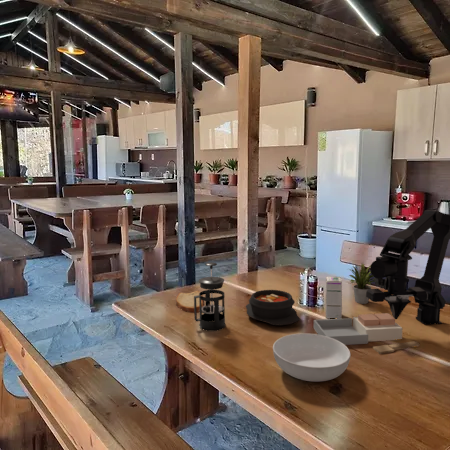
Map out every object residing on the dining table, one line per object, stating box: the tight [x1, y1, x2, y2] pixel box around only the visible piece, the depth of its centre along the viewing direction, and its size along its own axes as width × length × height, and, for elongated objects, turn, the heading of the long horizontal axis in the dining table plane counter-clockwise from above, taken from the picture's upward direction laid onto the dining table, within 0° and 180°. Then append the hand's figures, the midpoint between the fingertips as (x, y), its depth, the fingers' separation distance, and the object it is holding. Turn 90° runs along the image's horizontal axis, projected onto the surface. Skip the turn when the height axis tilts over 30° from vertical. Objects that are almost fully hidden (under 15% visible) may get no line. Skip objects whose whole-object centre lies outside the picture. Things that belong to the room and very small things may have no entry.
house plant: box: [346, 263, 375, 305], centre depth 168 cm, size 14×14×16 cm
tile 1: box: [357, 313, 379, 326], centre depth 138 cm, size 5×5×2 cm
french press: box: [193, 262, 227, 332], centre depth 146 cm, size 12×9×23 cm
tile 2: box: [373, 312, 396, 325], centre depth 139 cm, size 5×5×2 cm
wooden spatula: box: [372, 340, 420, 355], centre depth 128 cm, size 15×4×1 cm, turn 105°
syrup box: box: [325, 276, 343, 319], centre depth 154 cm, size 6×6×14 cm
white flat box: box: [352, 316, 403, 342], centre depth 139 cm, size 12×11×4 cm
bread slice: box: [175, 290, 205, 313], centre depth 172 cm, size 18×18×4 cm
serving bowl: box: [272, 333, 352, 382], centre depth 115 cm, size 21×21×7 cm
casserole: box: [245, 289, 301, 326], centre depth 155 cm, size 25×19×8 cm
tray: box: [313, 317, 369, 346], centre depth 138 cm, size 14×14×3 cm
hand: (395, 318), depth 139 cm, fingers closed
